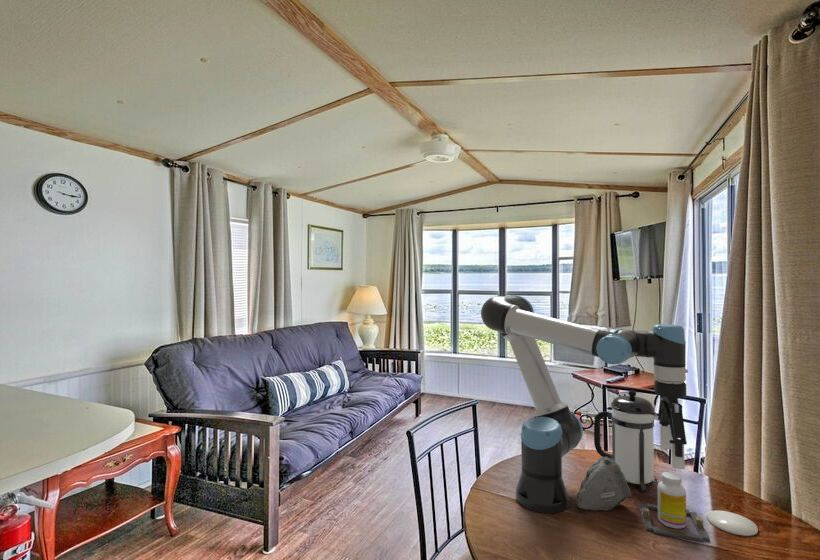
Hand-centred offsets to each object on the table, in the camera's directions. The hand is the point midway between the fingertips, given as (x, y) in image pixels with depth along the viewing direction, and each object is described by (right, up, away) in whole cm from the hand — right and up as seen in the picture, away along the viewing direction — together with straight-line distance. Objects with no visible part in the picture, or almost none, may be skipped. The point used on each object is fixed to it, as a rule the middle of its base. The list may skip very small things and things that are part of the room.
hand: (671, 457), depth 116 cm
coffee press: (0, -17, +23) cm, 29 cm away
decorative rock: (-16, -18, +6) cm, 25 cm away
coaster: (+15, -17, -2) cm, 23 cm away
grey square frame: (-1, -17, -1) cm, 17 cm away
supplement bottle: (-1, -17, -1) cm, 17 cm away
